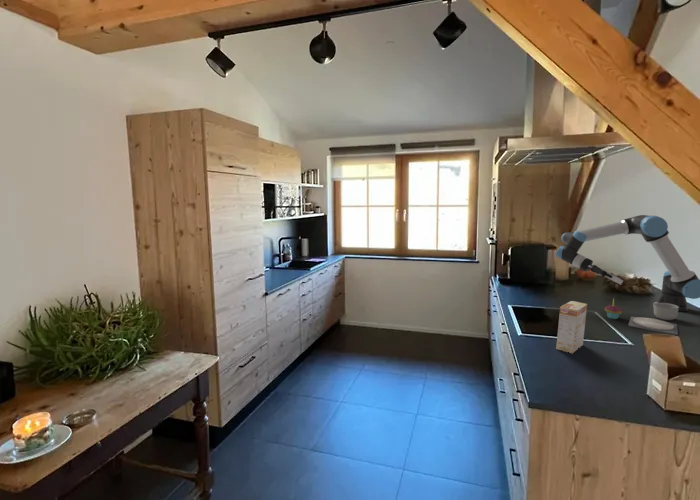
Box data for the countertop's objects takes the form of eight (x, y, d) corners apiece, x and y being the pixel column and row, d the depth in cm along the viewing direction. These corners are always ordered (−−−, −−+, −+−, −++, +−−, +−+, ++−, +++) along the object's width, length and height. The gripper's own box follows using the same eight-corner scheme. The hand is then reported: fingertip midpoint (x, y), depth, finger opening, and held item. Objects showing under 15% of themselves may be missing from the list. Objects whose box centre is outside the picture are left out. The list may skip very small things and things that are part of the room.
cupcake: (618, 321, 210) (621, 299, 208) (601, 317, 217) (603, 296, 215) (623, 318, 215) (626, 297, 214) (606, 314, 222) (608, 294, 220)
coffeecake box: (566, 340, 179) (570, 300, 177) (583, 345, 174) (588, 303, 172) (555, 349, 169) (559, 306, 167) (572, 354, 164) (577, 310, 161)
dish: (630, 317, 217) (631, 314, 217) (676, 325, 205) (677, 322, 204) (628, 326, 202) (628, 322, 202) (677, 335, 189) (678, 331, 189)
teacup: (681, 322, 210) (683, 308, 209) (659, 320, 212) (661, 306, 211) (666, 314, 223) (668, 301, 222) (645, 313, 225) (646, 300, 224)
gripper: (583, 270, 238) (619, 289, 225) (574, 265, 220) (612, 285, 207) (590, 260, 237) (627, 278, 223) (581, 254, 219) (621, 273, 205)
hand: (620, 281), depth 215 cm, fingers open, 13 cm apart
